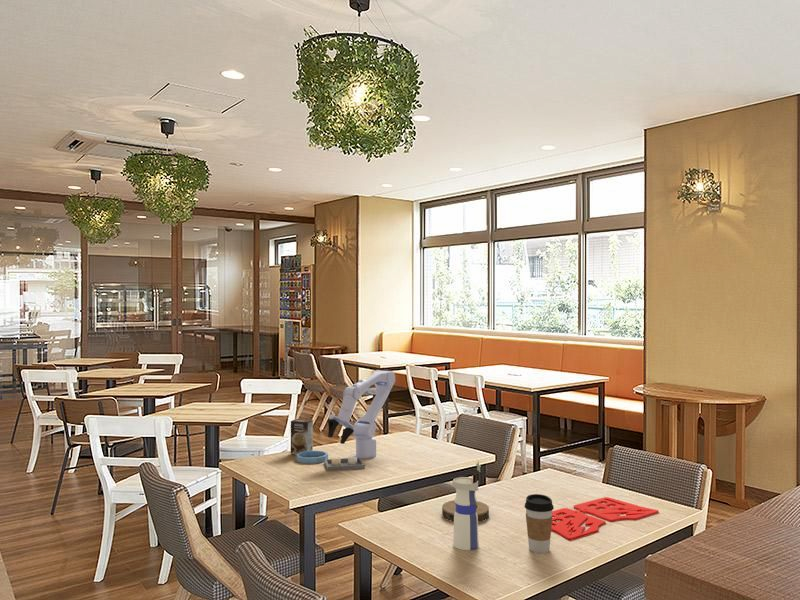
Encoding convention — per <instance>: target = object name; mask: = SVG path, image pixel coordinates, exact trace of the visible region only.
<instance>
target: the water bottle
mask: <svg viewBox="0 0 800 600" xmlns="http://www.w3.org/2000/svg"><path fill="white" fill-rule="evenodd" d="M475 465H476V471H478V472H479V473H481V464H480V462H479V461H477V463H475ZM472 481H473V480H472V478H471V477H468V476H460V477H456V478H453V480H452V481H451V484H450V486H451V487H452V488H454V489H455V491H456V492H455V493H456V494H455V497H454V499H453V500H454V502H455V503H456V511H455V514H454V522H453V540H452V543H453V544H452V546H453V547H454V548H455V549H457V548H458V549H457V550H463V551H473V550H476V549H478V548H479V547H480V542H479V541H480V539H479V522H478V515H477V512H476V510H477V509H478V499H477V497H476V492H479V491H480V490H479V480H477V481H476V482H474V483H472Z"/></svg>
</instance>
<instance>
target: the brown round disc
mask: <svg viewBox="0 0 800 600" xmlns="http://www.w3.org/2000/svg"><path fill="white" fill-rule="evenodd" d="M477 501H478V500H477ZM441 511H442V512H441V513H442V514H441V515H443V516H442V517H443V518H444V519H446V520H447V519H448V521H450V520H451V521H450V522H453V521H454V514H455V511H456V503H455V502H454V499H453V500H450V501H447V502H444V503H443V504H442V509H441ZM476 512H477V515H478V521H481V522H484V521H486V520H487V519H488V518H490V517H489V515H490V508H489V505H488V504H486V503H484V502H482V501H478V509H477V510H476ZM485 519H486V520H485ZM483 520H484V521H483Z"/></svg>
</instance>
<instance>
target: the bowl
mask: <svg viewBox="0 0 800 600" xmlns="http://www.w3.org/2000/svg"><path fill="white" fill-rule="evenodd" d="M325 459H329V453H328V452H327V451H323V450H313V451H304V452H300V453H298V454H297V455H296V462H298V463H300V464H305V465H306V464H309V465H311V464H322V463H325Z"/></svg>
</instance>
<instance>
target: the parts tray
mask: <svg viewBox="0 0 800 600" xmlns="http://www.w3.org/2000/svg"><path fill="white" fill-rule="evenodd" d="M324 465H325V468H326V471H327V472H333V471H346V470H347V471H349V470H364V469H365V465H366V464H365V463H364V461H363V459H362V458H357V465H348V457H345V458H341V466H332V458H328V459H325V462H324Z"/></svg>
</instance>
